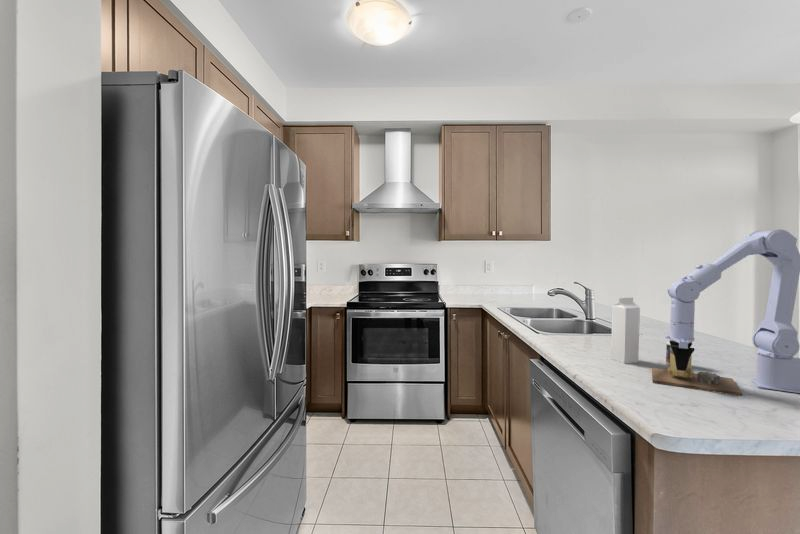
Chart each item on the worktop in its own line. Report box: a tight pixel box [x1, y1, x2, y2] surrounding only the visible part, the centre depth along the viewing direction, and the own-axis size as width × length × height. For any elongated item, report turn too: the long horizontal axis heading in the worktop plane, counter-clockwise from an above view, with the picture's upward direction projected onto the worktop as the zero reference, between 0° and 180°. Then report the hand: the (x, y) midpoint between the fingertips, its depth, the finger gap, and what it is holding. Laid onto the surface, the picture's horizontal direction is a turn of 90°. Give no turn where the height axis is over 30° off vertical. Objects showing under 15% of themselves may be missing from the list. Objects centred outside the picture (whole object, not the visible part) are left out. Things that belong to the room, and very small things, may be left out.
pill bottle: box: [665, 338, 673, 366], centre depth 134 cm, size 6×6×10 cm
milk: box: [610, 296, 641, 364], centre depth 139 cm, size 6×6×22 cm
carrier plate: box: [651, 367, 743, 397], centre depth 118 cm, size 20×14×4 cm
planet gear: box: [666, 352, 694, 378], centre depth 119 cm, size 6×6×6 cm
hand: (680, 367), depth 119 cm, fingers closed on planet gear, 5 cm apart
